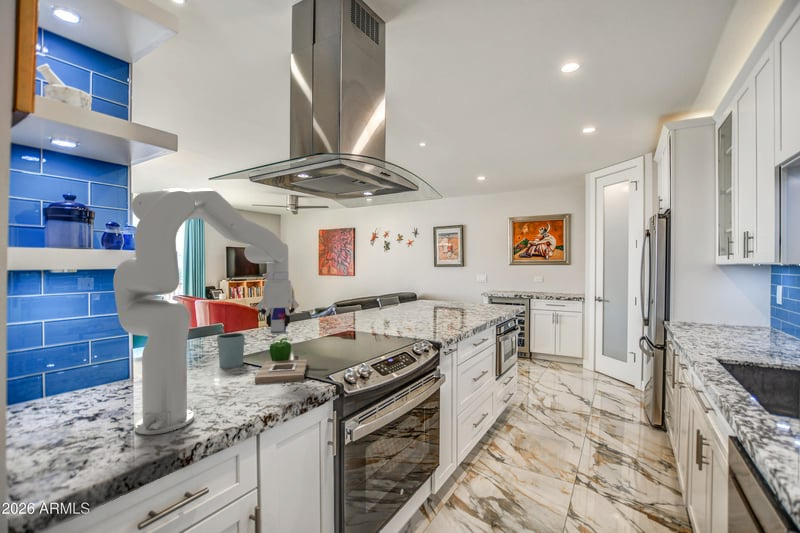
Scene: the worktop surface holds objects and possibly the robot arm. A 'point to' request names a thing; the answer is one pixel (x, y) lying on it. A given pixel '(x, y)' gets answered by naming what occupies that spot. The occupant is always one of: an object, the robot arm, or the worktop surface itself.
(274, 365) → the slotted board
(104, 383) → the worktop surface
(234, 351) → the grey teal cup
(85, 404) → the worktop surface
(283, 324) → the energy drink
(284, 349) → the bell pepper
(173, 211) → the robot arm
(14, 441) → the worktop surface
